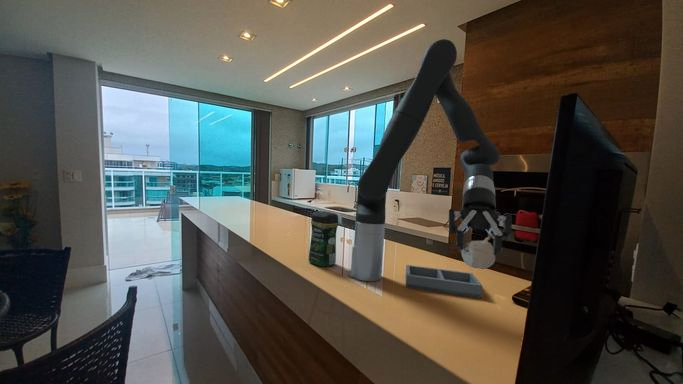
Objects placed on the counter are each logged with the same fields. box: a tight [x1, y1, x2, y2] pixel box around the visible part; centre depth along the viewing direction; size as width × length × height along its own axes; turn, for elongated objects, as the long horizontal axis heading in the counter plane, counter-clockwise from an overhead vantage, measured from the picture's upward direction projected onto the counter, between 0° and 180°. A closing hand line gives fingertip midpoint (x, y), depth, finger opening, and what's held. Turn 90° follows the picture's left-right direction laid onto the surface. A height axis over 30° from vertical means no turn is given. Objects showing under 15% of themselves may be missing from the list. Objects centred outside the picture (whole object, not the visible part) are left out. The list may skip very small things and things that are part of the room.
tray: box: [405, 264, 483, 300], centre depth 79 cm, size 20×11×4 cm, turn 76°
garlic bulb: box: [460, 235, 496, 270], centre depth 60 cm, size 7×6×8 cm
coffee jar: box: [308, 210, 339, 268], centre depth 94 cm, size 10×8×19 cm
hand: (478, 249), depth 59 cm, fingers closed on garlic bulb, 6 cm apart
